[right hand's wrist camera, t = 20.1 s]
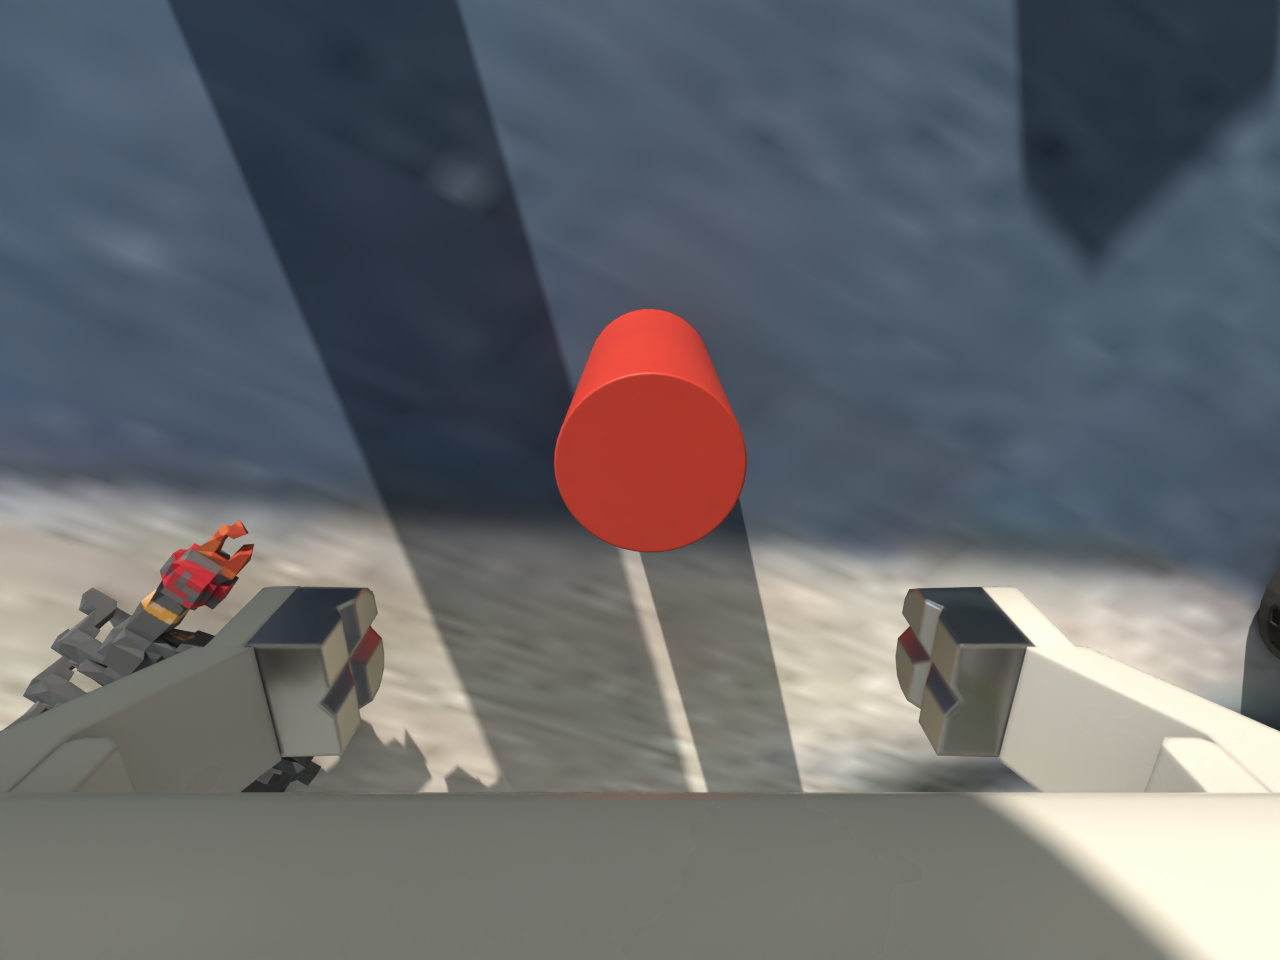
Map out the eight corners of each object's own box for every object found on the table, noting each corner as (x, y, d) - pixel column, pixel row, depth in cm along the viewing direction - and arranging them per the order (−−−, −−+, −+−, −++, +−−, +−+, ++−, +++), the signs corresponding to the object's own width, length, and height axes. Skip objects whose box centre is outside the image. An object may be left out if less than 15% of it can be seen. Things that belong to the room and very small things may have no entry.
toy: (-30, 791, 36) (-643, 1318, 19) (196, 413, 28) (-502, 728, 11) (204, 905, 39) (-142, 1449, 22) (466, 593, 31) (247, 1059, 14)
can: (605, 438, 28) (581, 569, 18) (575, 324, 27) (530, 396, 16) (719, 414, 28) (761, 533, 18) (696, 296, 26) (728, 352, 16)
